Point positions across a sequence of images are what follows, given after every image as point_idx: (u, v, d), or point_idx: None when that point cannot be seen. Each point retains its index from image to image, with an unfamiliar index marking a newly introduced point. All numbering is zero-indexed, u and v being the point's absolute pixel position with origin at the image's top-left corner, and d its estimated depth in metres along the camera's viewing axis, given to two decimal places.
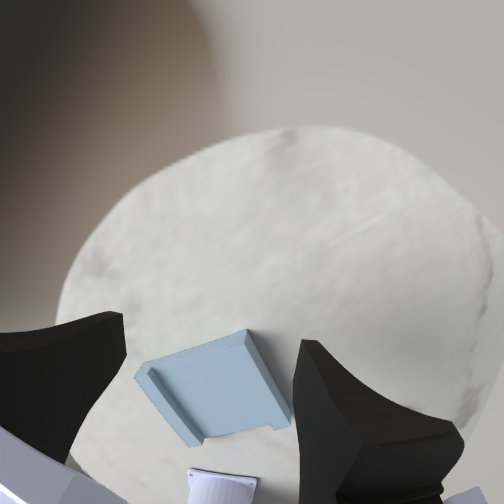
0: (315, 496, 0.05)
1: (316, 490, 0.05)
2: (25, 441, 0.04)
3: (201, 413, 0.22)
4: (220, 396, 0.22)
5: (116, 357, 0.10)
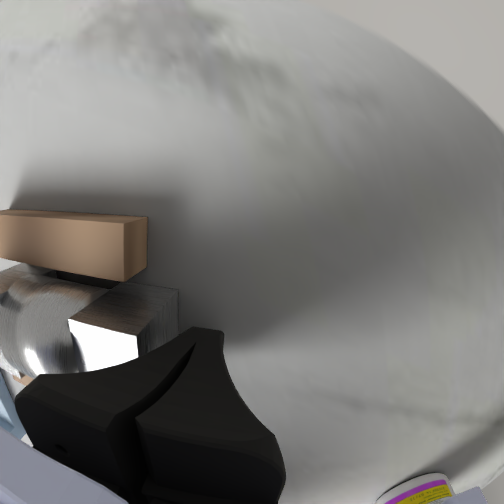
0: None
1: None
2: (144, 495, 0.04)
3: None
4: None
5: None
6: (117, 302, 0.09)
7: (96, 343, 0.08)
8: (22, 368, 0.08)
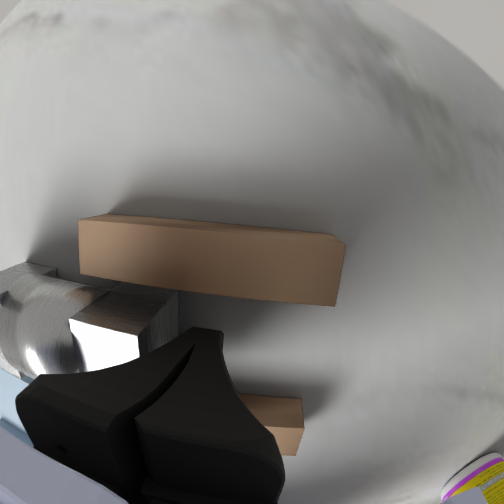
0: None
1: None
2: (144, 495, 0.04)
3: None
4: None
5: None
6: (118, 302, 0.09)
7: (97, 343, 0.08)
8: (22, 368, 0.08)
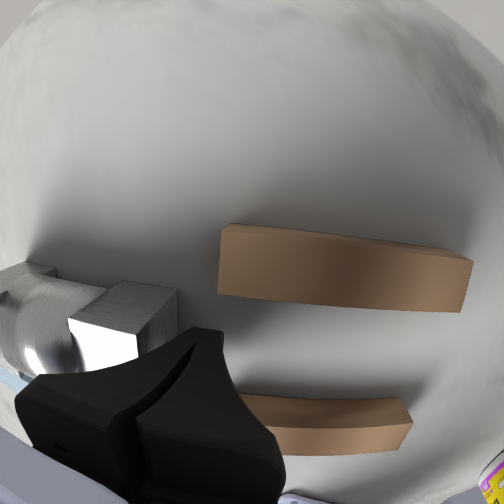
0: None
1: None
2: (143, 495, 0.04)
3: None
4: None
5: None
6: (117, 301, 0.09)
7: (96, 342, 0.08)
8: (22, 367, 0.08)
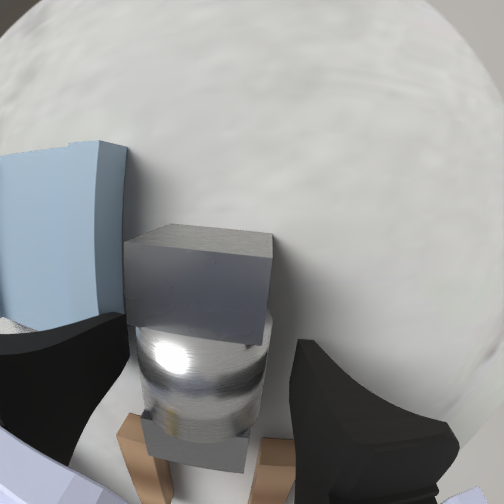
0: (309, 496, 0.05)
1: (310, 490, 0.05)
2: (29, 443, 0.04)
3: (8, 268, 0.11)
4: (36, 248, 0.11)
5: (119, 358, 0.10)
6: None
7: (229, 452, 0.09)
8: (164, 373, 0.08)
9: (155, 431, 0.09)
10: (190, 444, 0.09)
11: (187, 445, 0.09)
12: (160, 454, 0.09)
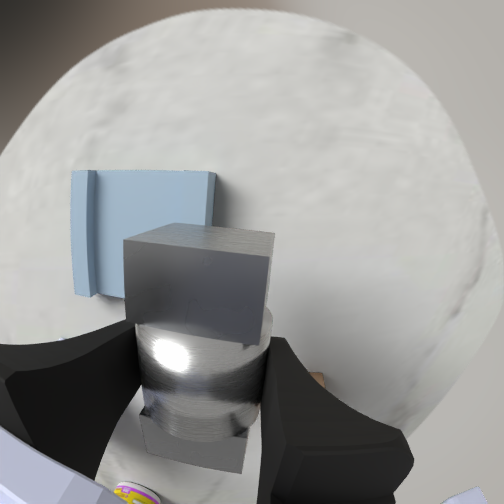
0: (263, 495, 0.05)
1: (264, 489, 0.05)
2: (58, 460, 0.04)
3: (111, 254, 0.19)
4: None
5: None
6: None
7: (227, 452, 0.09)
8: (161, 371, 0.08)
9: (154, 428, 0.09)
10: (189, 443, 0.09)
11: (185, 443, 0.09)
12: (159, 451, 0.09)
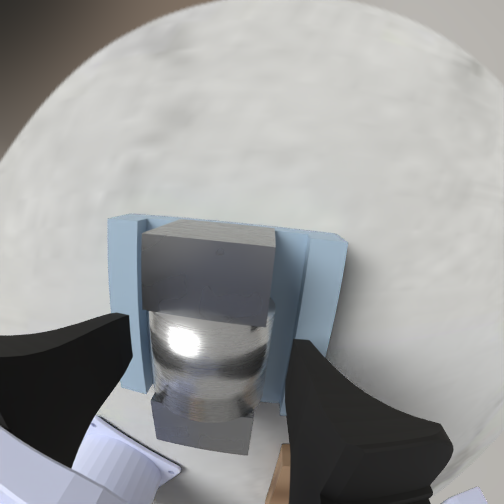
0: (302, 496, 0.05)
1: (303, 490, 0.05)
2: (33, 446, 0.04)
3: None
4: None
5: (123, 359, 0.10)
6: None
7: (235, 433, 0.10)
8: (176, 354, 0.09)
9: (165, 413, 0.10)
10: (198, 426, 0.10)
11: (195, 427, 0.10)
12: (168, 437, 0.10)
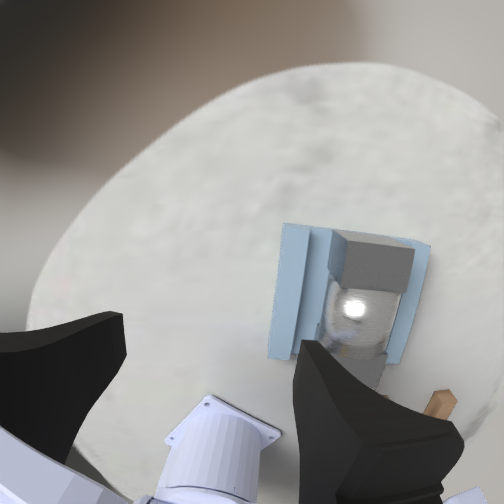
0: (315, 496, 0.05)
1: (316, 490, 0.05)
2: (25, 441, 0.04)
3: (317, 315, 0.19)
4: None
5: (116, 357, 0.10)
6: None
7: (374, 368, 0.16)
8: (361, 313, 0.14)
9: None
10: (353, 367, 0.16)
11: (350, 368, 0.16)
12: None
